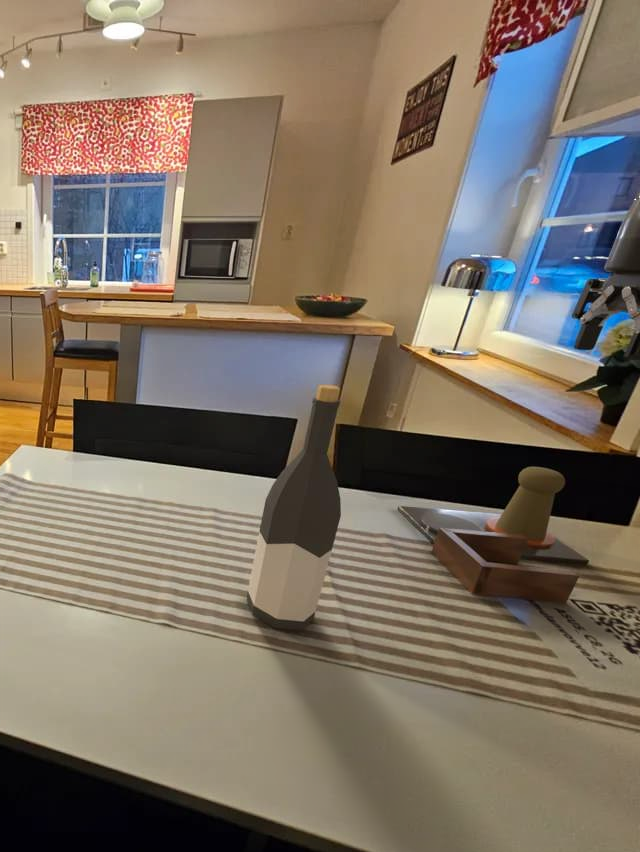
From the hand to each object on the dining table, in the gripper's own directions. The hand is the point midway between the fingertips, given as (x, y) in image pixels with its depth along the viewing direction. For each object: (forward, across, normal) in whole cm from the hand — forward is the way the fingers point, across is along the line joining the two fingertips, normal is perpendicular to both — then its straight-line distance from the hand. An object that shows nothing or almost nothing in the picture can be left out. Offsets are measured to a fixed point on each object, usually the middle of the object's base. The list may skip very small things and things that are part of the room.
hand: (606, 354), depth 73 cm
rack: (+30, -16, +15) cm, 37 cm away
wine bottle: (+30, -30, +48) cm, 64 cm away
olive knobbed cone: (+29, -3, +4) cm, 29 cm away
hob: (+30, -3, +9) cm, 32 cm away
